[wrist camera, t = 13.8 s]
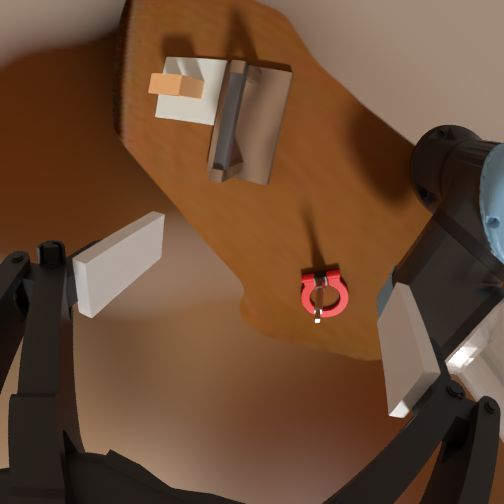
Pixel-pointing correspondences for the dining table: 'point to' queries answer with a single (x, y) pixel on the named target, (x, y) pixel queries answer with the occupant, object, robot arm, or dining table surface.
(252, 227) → the dining table surface
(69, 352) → the robot arm
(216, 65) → the rubber mat
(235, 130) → the stand
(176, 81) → the c-link
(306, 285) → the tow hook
